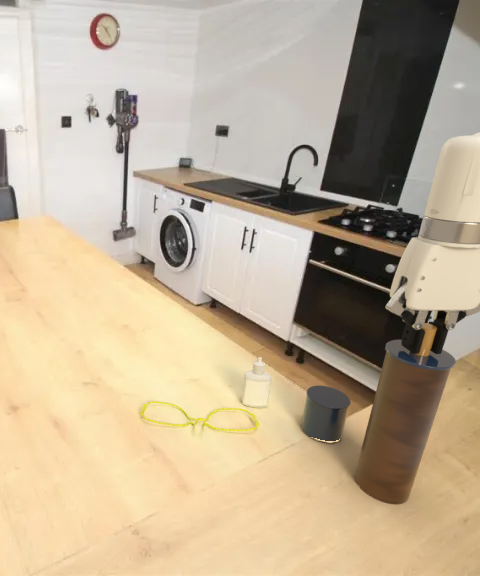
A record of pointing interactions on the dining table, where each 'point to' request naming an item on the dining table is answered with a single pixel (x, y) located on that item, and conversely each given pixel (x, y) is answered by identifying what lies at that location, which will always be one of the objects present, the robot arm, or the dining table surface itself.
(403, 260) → the robot arm
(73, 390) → the dining table surface
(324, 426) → the canister
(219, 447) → the dining table surface
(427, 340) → the lid
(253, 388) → the eye dropper bottle
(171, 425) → the glasses
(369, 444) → the brown wooden cylinder
